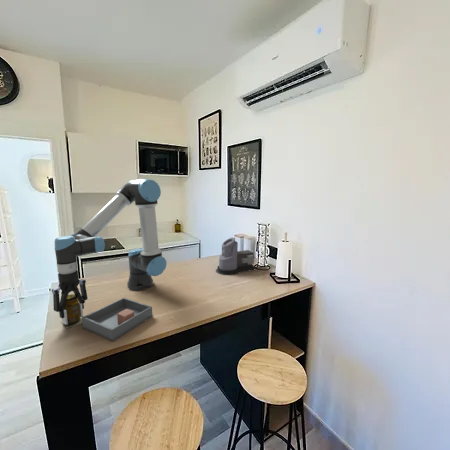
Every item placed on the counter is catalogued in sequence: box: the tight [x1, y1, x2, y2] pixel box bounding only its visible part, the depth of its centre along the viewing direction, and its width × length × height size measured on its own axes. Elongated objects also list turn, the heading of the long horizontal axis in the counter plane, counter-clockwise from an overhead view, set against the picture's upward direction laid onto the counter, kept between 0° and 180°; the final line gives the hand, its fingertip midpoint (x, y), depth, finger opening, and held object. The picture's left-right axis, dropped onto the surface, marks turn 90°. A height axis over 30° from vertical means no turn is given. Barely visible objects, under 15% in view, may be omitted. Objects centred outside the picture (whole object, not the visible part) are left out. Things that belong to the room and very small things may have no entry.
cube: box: [117, 309, 134, 324], centre depth 109 cm, size 5×5×5 cm
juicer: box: [215, 237, 257, 276], centre depth 179 cm, size 30×16×24 cm, turn 114°
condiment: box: [60, 293, 83, 329], centre depth 111 cm, size 7×8×12 cm
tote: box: [81, 297, 153, 342], centre depth 111 cm, size 20×22×5 cm
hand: (73, 319), depth 112 cm, fingers open, 6 cm apart
